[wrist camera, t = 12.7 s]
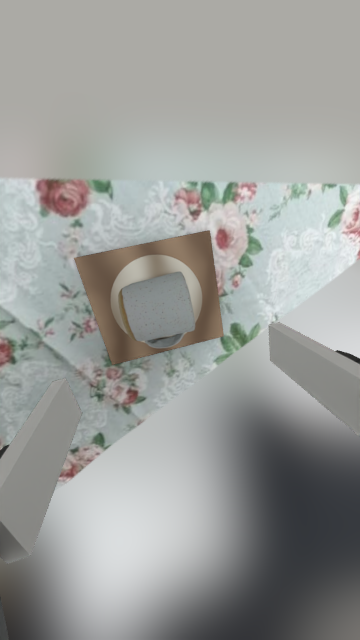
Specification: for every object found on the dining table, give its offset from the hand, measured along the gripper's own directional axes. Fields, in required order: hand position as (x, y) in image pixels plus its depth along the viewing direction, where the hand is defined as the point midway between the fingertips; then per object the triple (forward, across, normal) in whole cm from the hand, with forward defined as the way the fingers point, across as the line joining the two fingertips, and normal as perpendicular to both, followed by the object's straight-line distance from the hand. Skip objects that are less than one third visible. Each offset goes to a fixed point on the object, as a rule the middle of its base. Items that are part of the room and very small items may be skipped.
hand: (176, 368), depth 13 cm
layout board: (+19, 0, 0) cm, 19 cm away
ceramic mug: (+18, 0, +1) cm, 18 cm away
